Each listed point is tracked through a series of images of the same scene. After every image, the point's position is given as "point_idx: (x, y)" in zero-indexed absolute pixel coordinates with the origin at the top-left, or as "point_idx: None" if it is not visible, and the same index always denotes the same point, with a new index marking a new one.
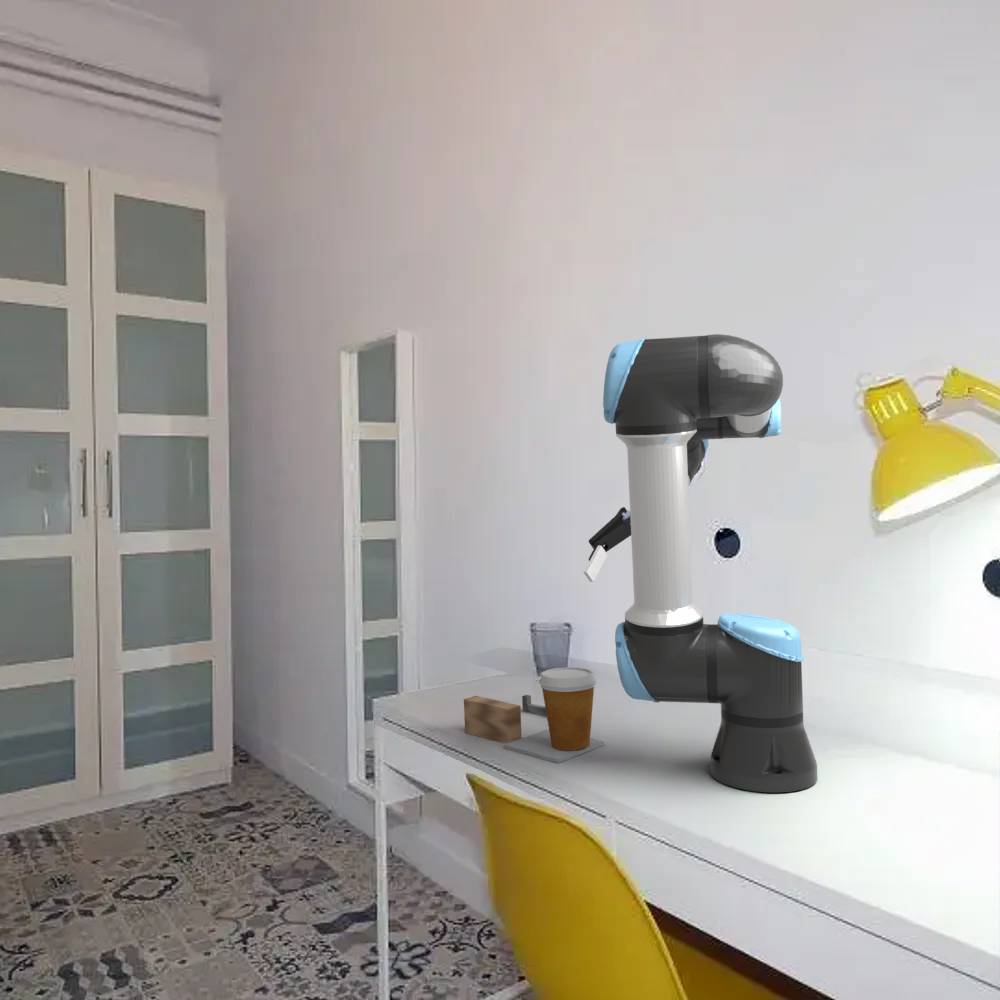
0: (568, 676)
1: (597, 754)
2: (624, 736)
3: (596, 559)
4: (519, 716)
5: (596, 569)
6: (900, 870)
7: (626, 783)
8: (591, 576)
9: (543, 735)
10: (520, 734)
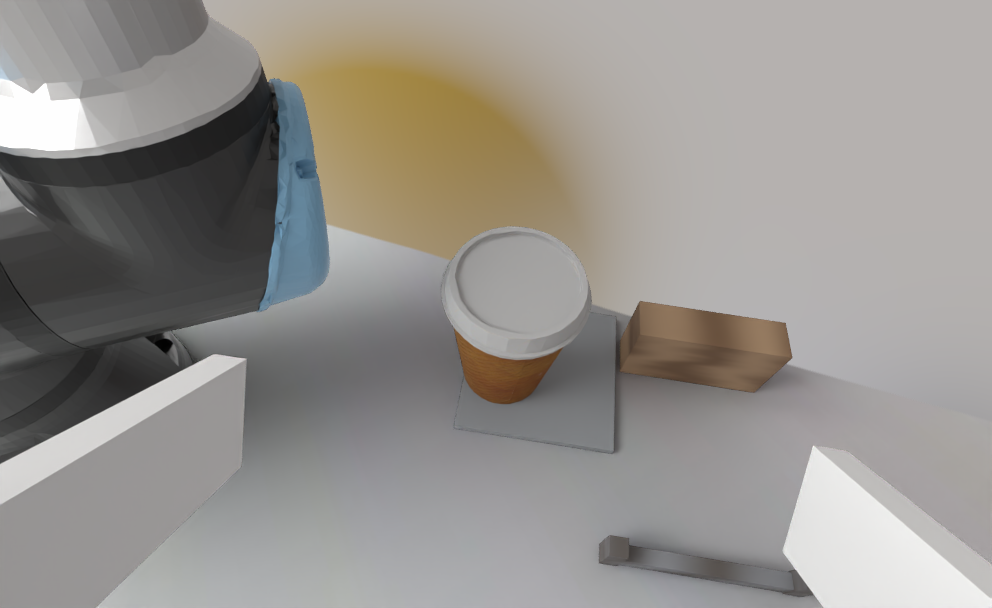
0: (504, 268)
1: (438, 369)
2: (440, 506)
3: (928, 591)
4: (633, 343)
5: (850, 591)
6: None
7: (332, 273)
8: (801, 517)
9: (589, 396)
10: (622, 362)
